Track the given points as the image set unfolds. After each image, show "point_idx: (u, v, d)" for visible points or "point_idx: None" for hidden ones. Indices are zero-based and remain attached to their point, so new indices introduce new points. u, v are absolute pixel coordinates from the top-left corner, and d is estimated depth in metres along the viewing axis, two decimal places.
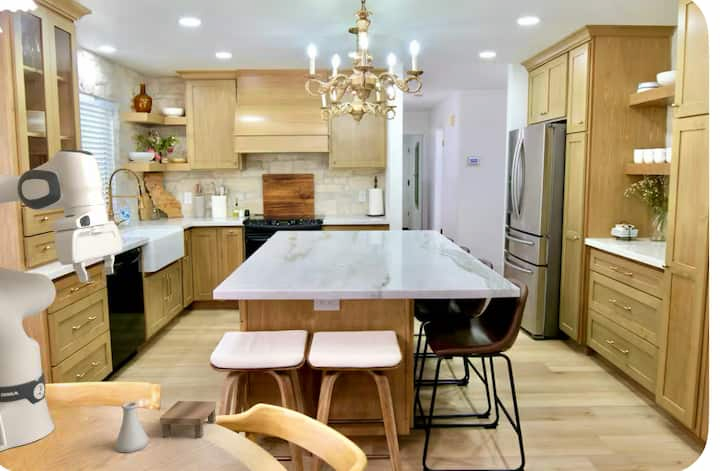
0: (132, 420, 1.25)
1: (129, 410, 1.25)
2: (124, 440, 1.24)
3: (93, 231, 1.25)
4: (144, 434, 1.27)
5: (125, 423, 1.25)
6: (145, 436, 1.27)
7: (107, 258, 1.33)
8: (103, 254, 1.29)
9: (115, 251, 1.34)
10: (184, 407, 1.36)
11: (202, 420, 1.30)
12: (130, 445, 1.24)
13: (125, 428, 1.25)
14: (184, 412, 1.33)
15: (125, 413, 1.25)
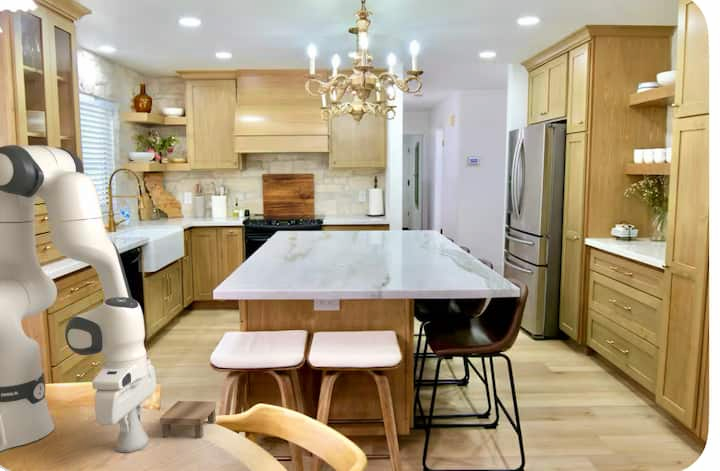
0: (132, 420, 1.25)
1: None
2: (124, 440, 1.24)
3: (132, 384, 1.23)
4: (144, 434, 1.27)
5: None
6: (145, 436, 1.27)
7: None
8: (139, 403, 1.27)
9: (150, 394, 1.32)
10: (184, 407, 1.36)
11: (202, 420, 1.30)
12: (130, 444, 1.24)
13: None
14: (184, 412, 1.33)
15: None
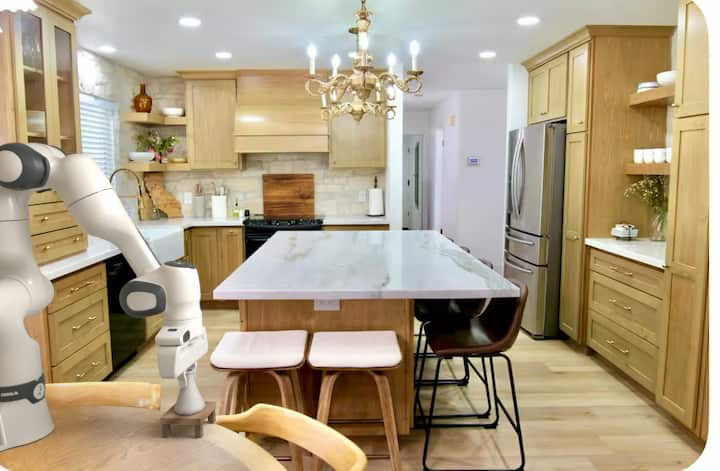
0: (191, 385, 1.33)
1: (187, 375, 1.32)
2: (184, 403, 1.31)
3: (190, 342, 1.30)
4: (201, 398, 1.35)
5: None
6: (202, 400, 1.35)
7: (191, 364, 1.36)
8: (195, 361, 1.34)
9: (203, 354, 1.39)
10: None
11: (202, 420, 1.30)
12: (190, 407, 1.31)
13: (184, 392, 1.32)
14: None
15: None
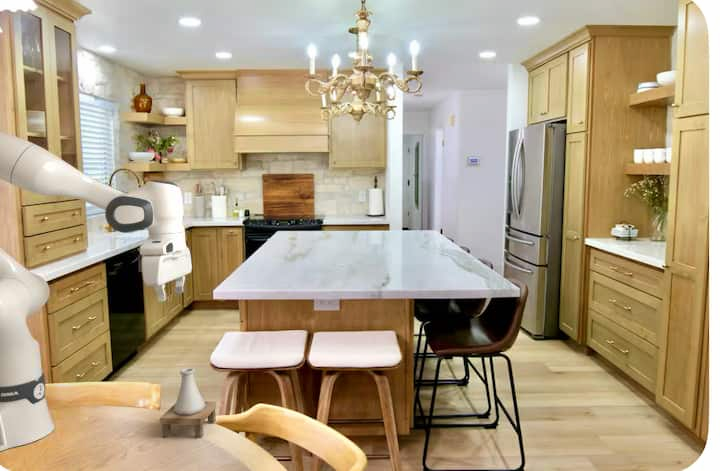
0: (191, 384, 1.33)
1: (187, 375, 1.32)
2: (184, 403, 1.31)
3: (173, 256, 1.38)
4: (201, 398, 1.35)
5: (184, 387, 1.32)
6: (202, 400, 1.35)
7: (179, 278, 1.46)
8: (178, 276, 1.42)
9: (186, 272, 1.47)
10: None
11: (202, 420, 1.30)
12: (190, 407, 1.31)
13: (184, 392, 1.32)
14: None
15: (184, 378, 1.32)
